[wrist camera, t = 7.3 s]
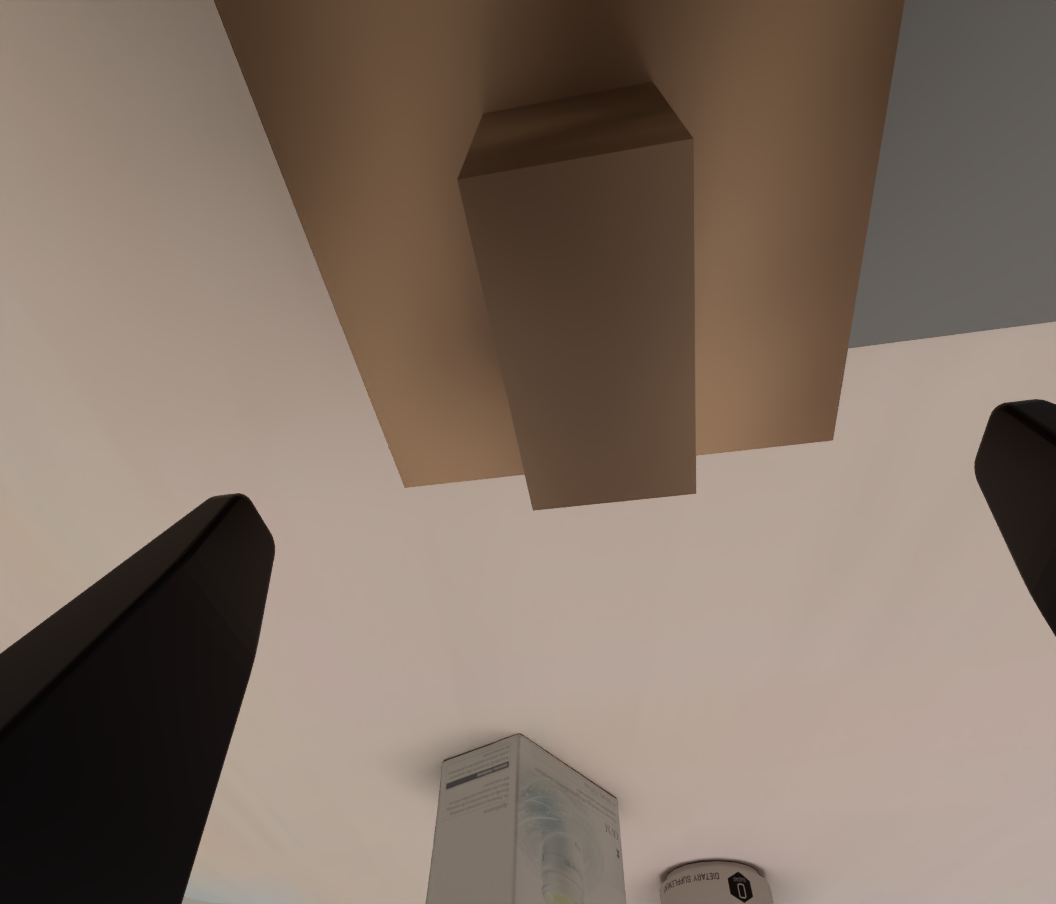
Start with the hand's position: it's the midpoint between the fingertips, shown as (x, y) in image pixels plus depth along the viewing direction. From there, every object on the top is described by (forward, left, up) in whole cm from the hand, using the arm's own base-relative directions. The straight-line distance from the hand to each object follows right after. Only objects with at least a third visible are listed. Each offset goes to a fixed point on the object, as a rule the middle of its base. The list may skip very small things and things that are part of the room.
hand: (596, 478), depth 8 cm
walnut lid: (0, 0, -8) cm, 8 cm away
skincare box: (+7, +35, -12) cm, 38 cm away
